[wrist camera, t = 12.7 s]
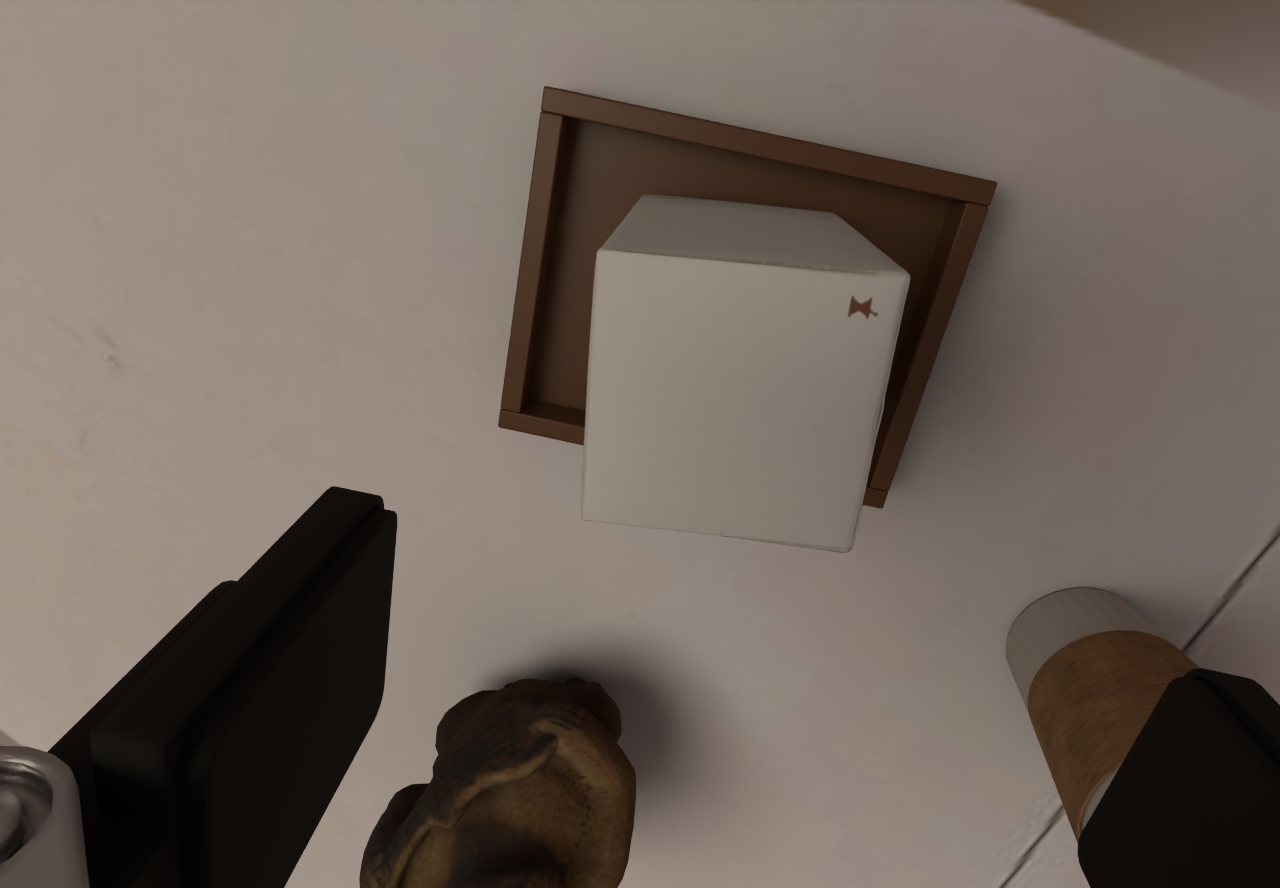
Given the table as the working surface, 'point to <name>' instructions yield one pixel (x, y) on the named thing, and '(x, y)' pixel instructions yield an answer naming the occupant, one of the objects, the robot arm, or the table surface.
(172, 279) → the table surface
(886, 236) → the tray
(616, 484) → the white packaging box
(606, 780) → the sculpture
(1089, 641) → the coffee cup
